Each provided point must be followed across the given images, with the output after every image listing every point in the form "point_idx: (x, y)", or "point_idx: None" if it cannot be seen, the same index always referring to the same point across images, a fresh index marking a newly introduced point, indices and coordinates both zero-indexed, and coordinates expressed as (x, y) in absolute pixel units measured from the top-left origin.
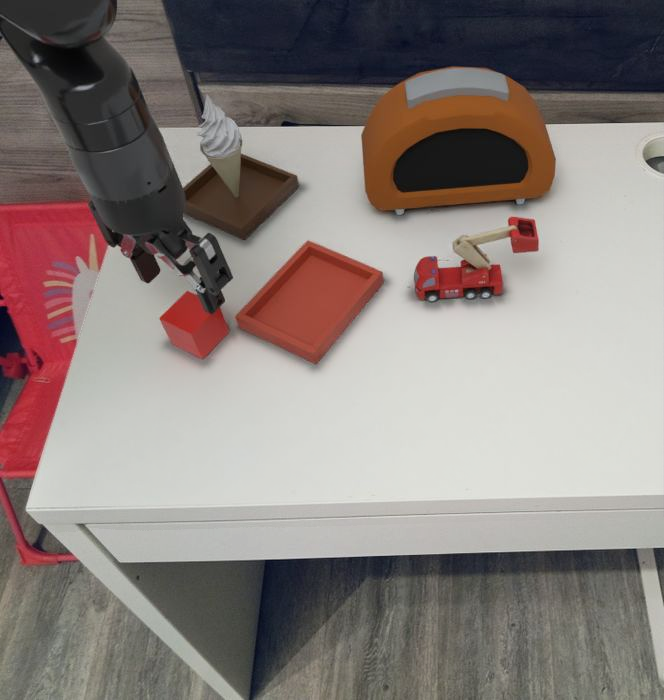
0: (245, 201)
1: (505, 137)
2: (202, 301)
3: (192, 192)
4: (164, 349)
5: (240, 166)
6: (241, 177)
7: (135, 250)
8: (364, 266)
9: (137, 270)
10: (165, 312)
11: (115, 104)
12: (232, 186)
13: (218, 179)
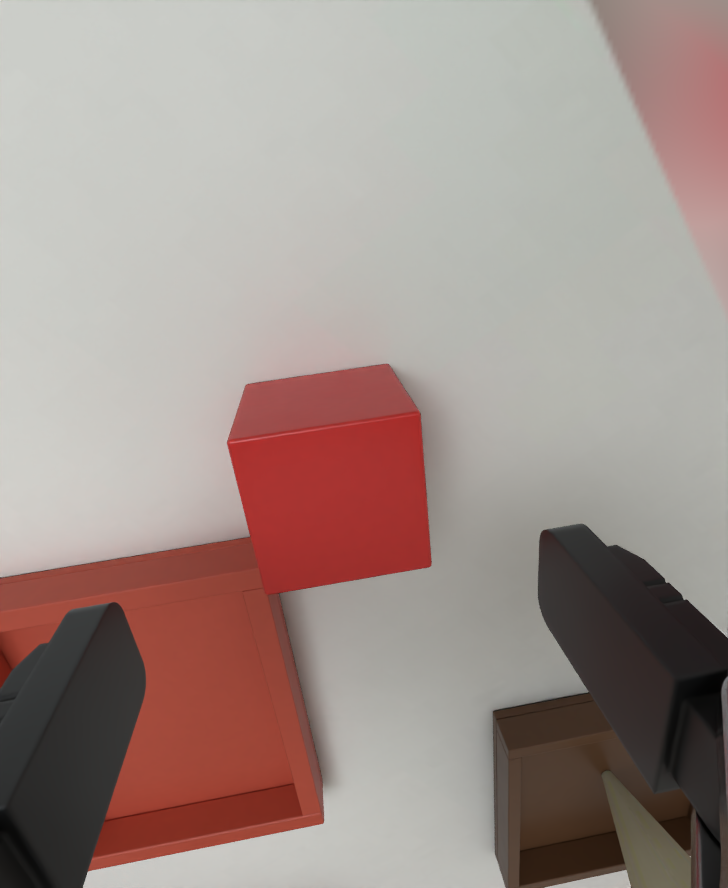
0: (575, 776)
1: None
2: (43, 691)
3: None
4: (391, 331)
5: (657, 818)
6: None
7: (722, 841)
8: (124, 859)
9: (624, 586)
10: (418, 448)
11: None
12: (624, 819)
13: None
